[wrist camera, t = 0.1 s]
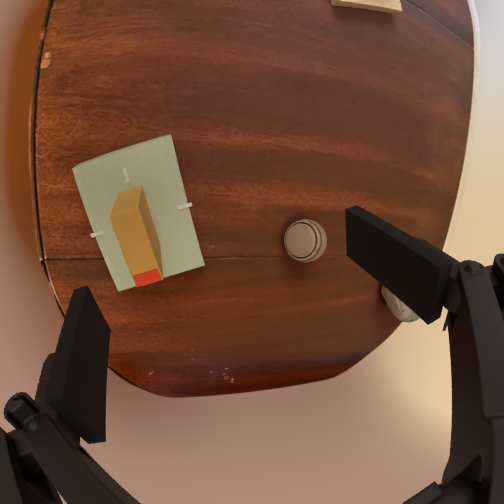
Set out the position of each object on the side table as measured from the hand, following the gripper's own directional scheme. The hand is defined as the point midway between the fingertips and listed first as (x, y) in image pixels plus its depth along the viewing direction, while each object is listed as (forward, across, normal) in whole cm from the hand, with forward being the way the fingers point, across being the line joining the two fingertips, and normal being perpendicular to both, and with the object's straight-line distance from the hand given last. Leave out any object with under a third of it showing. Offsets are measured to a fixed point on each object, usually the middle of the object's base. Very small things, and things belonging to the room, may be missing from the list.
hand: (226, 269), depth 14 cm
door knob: (+20, +12, -10) cm, 25 cm away
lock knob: (+17, -5, -2) cm, 18 cm away
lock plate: (+20, -5, -2) cm, 21 cm away
